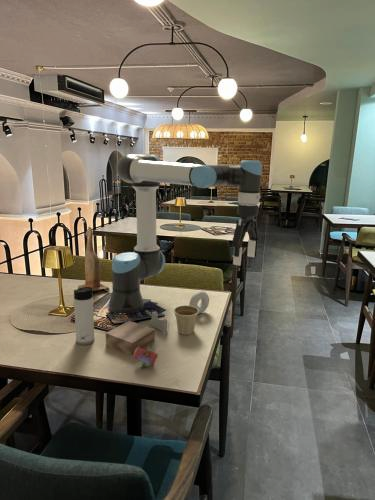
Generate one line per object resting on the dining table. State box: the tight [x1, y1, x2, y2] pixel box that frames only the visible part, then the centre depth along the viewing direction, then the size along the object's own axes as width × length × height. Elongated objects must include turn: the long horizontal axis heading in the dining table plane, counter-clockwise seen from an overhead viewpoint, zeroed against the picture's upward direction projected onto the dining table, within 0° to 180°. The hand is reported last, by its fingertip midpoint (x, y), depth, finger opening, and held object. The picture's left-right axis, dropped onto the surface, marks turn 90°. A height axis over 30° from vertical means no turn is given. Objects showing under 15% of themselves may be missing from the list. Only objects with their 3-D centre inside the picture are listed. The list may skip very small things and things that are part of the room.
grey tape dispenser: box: [150, 311, 169, 334], centre depth 141 cm, size 6×1×10 cm
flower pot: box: [173, 305, 199, 336], centre depth 139 cm, size 9×9×9 cm
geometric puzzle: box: [133, 343, 159, 368], centre depth 116 cm, size 7×7×8 cm
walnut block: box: [105, 320, 156, 357], centre depth 130 cm, size 12×12×5 cm
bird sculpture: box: [77, 226, 110, 292], centre depth 175 cm, size 11×12×32 cm
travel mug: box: [73, 287, 95, 346], centre depth 128 cm, size 6×7×20 cm
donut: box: [188, 290, 210, 315], centre depth 155 cm, size 10×4×10 cm, turn 129°
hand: (244, 260), depth 138 cm, fingers open, 13 cm apart
